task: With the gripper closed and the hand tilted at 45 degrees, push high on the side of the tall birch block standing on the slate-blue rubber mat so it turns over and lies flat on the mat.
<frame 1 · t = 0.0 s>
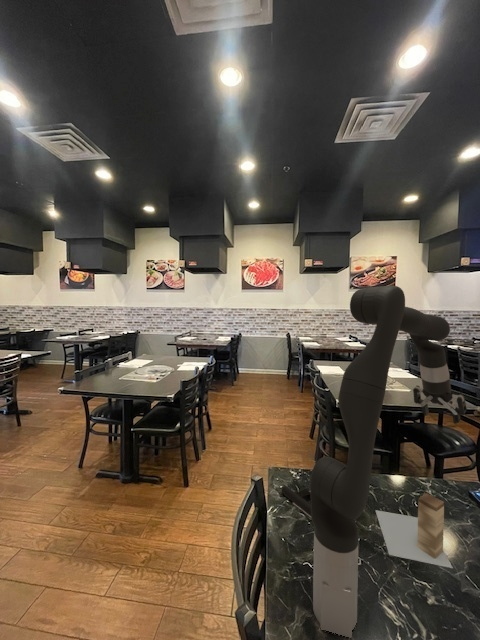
hand: (440, 418, 93), 31 cm above the table, tool tilted 20°, fingers open, 8 cm apart
birch block: (429, 549, 78), resting on rubber mat
rubber mat: (409, 537, 83), on the table
door handle: (315, 504, 97), on the table
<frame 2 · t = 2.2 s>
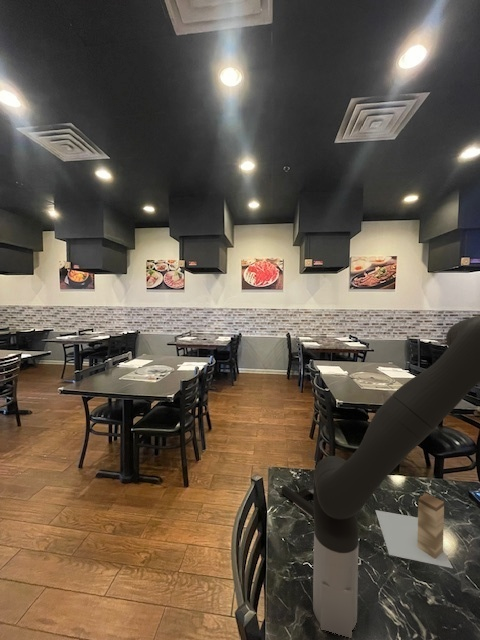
nothing on the table moved.
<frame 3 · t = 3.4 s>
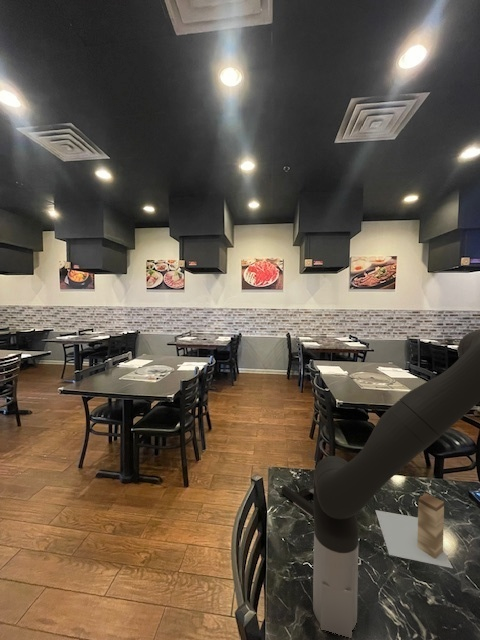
nothing on the table moved.
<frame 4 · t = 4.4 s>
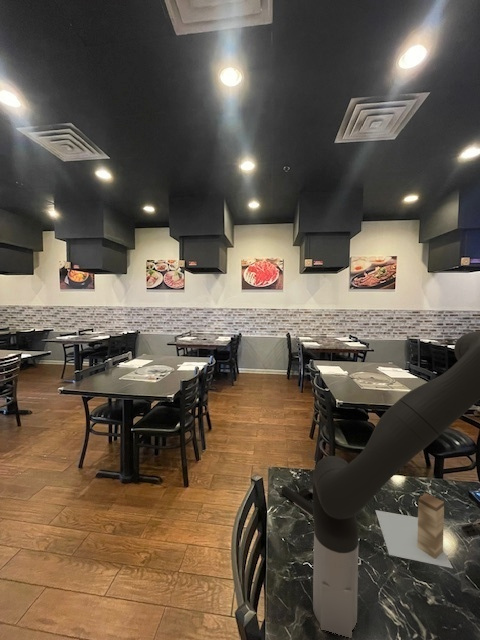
hand: (465, 531, 71), 11 cm above the table, tool tilted 45°, fingers closed
nothing on the table moved.
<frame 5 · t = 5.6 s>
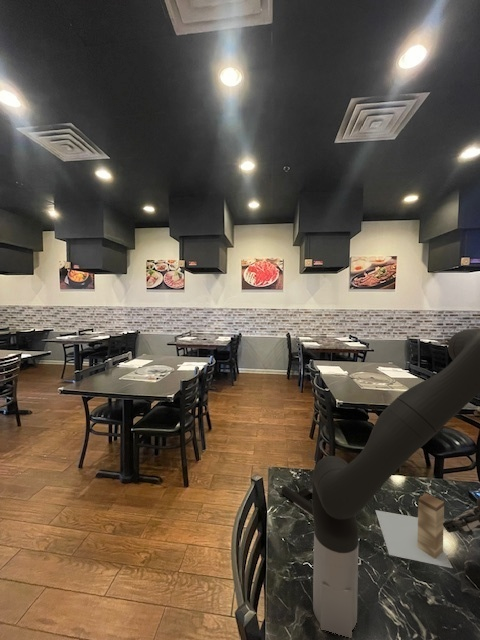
hand: (446, 527, 74), 9 cm above the table, tool tilted 45°, fingers closed
nothing on the table moved.
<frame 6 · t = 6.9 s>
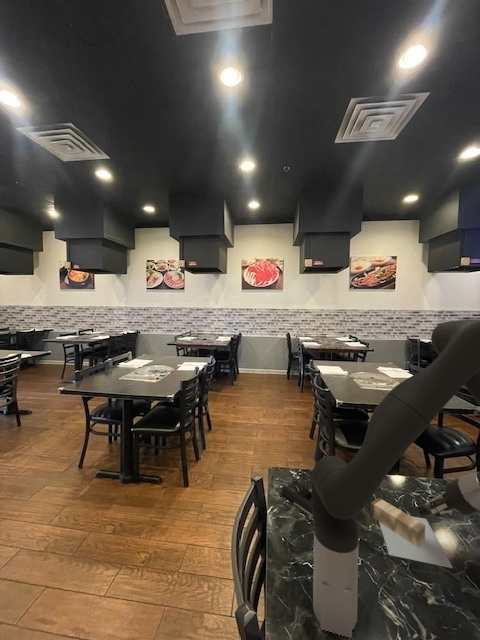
hand: (419, 511, 80), 9 cm above the table, tool tilted 45°, fingers closed
birch block: (421, 535, 80), point 3 cm above the table, tilted 90°, touching rubber mat
everything else where it was.
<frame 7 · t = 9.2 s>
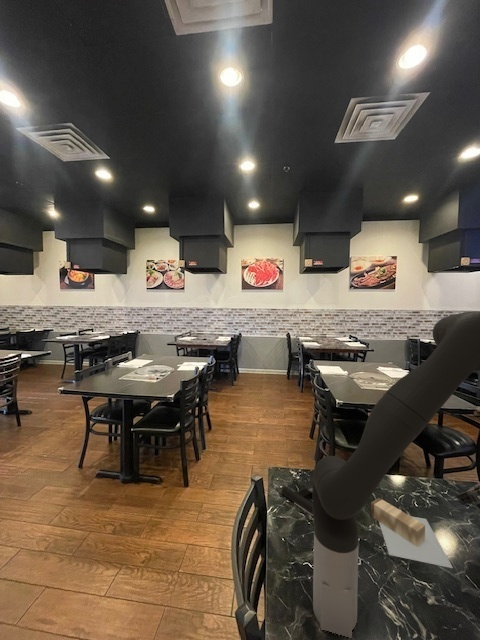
hand: (460, 499, 72), 18 cm above the table, tool tilted 45°, fingers closed
nothing on the table moved.
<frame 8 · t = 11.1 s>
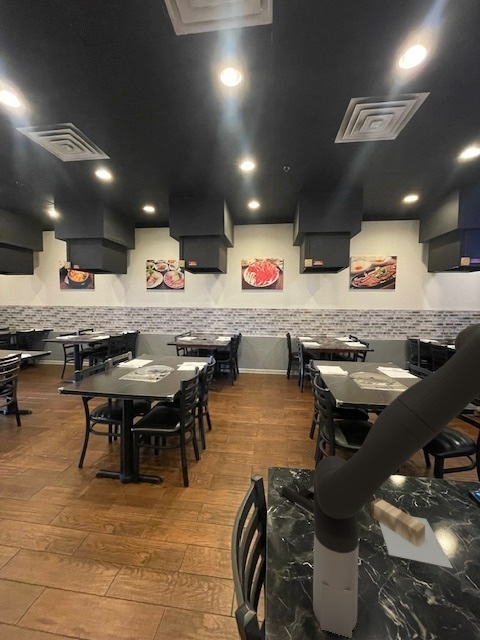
at the end: birch block tilted 90°; birch block inside the target area on the rubber mat (3.3 cm from its centre), point 2.7 cm above the rubber mat's base; the gripper is holding nothing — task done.
